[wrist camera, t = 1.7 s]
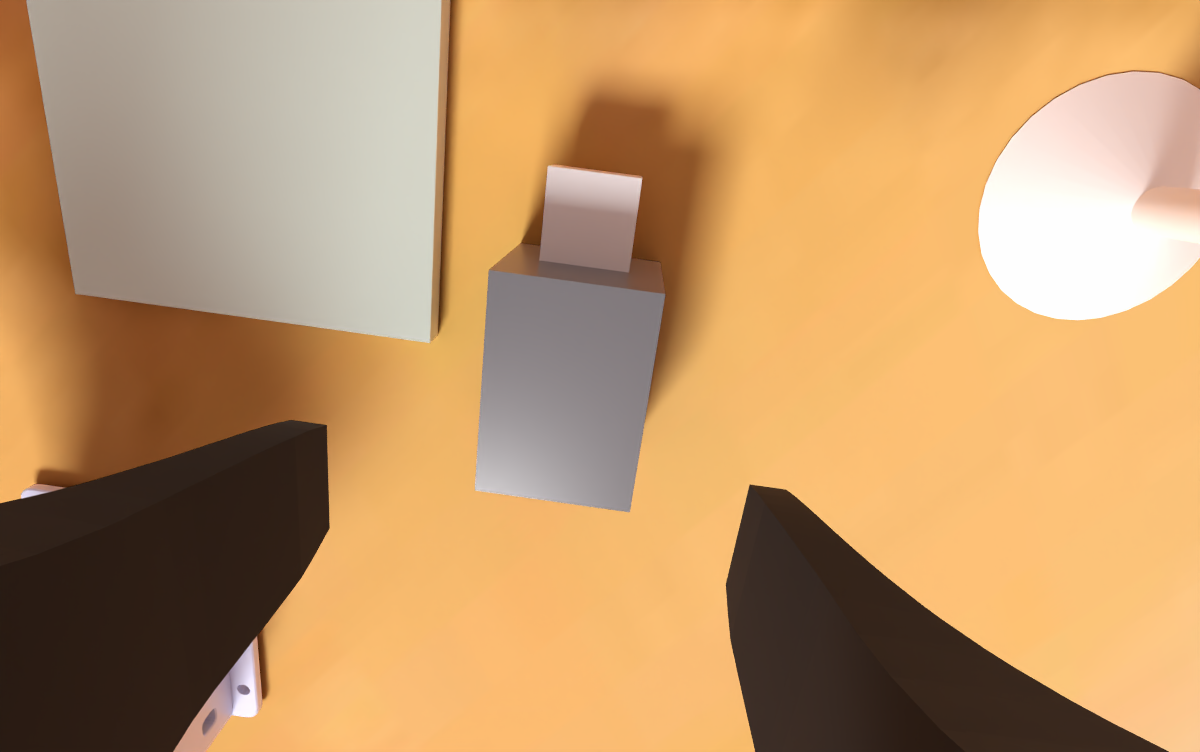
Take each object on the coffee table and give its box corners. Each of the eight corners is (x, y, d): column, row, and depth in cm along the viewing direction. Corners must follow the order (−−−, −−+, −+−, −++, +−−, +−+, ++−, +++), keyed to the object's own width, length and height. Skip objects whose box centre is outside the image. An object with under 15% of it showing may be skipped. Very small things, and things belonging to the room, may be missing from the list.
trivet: (437, 335, 20) (429, 342, 19) (96, 287, 20) (75, 294, 19) (453, -74, 16) (444, -84, 16) (31, -129, 16) (2, -142, 16)
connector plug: (631, 440, 21) (629, 512, 17) (507, 422, 21) (474, 490, 17) (673, 178, 18) (682, 188, 14) (528, 158, 18) (495, 163, 14)
